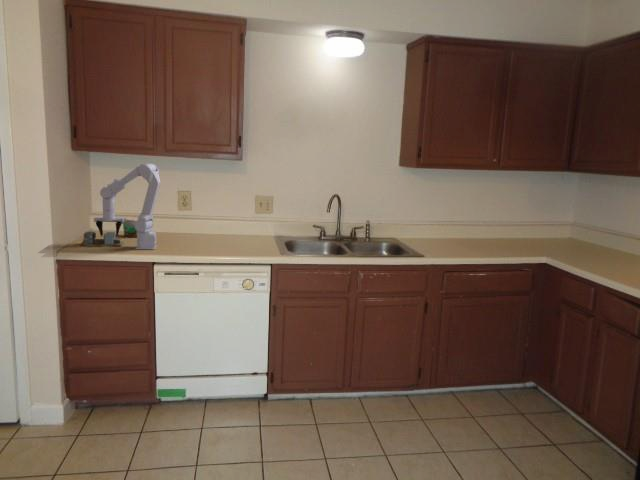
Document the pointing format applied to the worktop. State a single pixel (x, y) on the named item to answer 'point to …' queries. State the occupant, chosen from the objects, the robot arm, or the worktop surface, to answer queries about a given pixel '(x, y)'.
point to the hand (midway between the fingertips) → (109, 235)
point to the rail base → (98, 241)
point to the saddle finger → (109, 237)
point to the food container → (129, 228)
